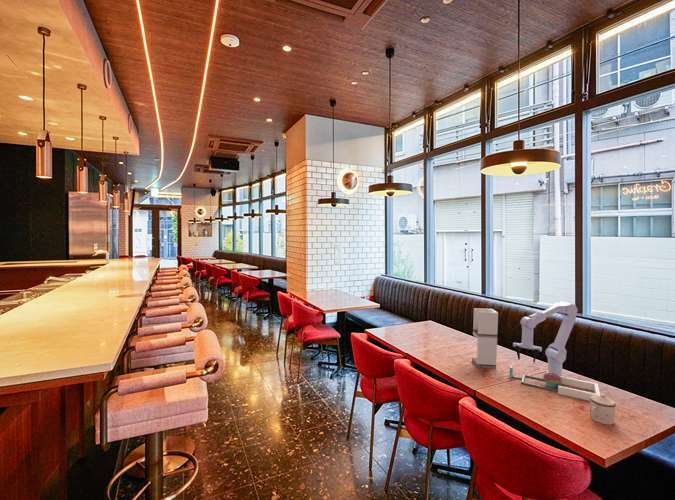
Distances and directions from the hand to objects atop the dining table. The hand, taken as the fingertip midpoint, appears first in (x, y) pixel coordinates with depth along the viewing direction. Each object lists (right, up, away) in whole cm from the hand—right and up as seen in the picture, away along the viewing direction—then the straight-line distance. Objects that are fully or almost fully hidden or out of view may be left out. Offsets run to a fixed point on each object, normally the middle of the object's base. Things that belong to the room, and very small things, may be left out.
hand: (526, 360), depth 199 cm
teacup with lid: (+7, -12, -46) cm, 48 cm away
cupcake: (+7, -10, -12) cm, 18 cm away
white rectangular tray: (+16, -11, -19) cm, 27 cm away
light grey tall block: (-17, -9, +18) cm, 26 cm away
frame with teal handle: (0, -9, -8) cm, 12 cm away
